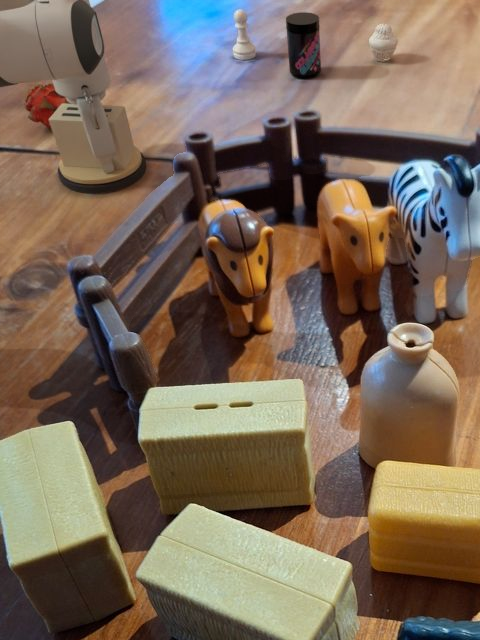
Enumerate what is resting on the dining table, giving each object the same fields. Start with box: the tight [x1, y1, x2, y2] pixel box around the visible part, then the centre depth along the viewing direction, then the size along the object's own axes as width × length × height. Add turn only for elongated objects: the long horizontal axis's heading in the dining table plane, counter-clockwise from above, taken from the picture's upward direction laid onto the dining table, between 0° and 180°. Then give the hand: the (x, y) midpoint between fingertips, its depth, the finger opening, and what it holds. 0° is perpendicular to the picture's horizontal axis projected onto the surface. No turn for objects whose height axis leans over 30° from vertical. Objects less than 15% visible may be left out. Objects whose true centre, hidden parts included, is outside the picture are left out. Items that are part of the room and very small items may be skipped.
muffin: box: [368, 23, 398, 63], centre depth 155 cm, size 6×6×7 cm
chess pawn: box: [232, 8, 257, 61], centre depth 156 cm, size 5×5×9 cm
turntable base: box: [57, 151, 147, 194], centre depth 127 cm, size 15×15×1 cm
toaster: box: [49, 103, 142, 184], centre depth 123 cm, size 14×14×9 cm
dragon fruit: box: [23, 83, 71, 133], centre depth 136 cm, size 8×8×12 cm
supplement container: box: [285, 11, 322, 80], centre depth 149 cm, size 7×7×10 cm
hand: (104, 158), depth 126 cm, fingers closed on toaster, 7 cm apart
